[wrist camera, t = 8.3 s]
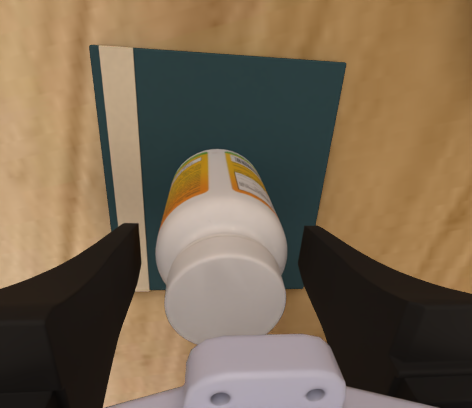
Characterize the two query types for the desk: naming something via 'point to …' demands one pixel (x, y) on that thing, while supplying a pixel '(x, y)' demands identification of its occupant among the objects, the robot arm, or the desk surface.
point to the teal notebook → (212, 133)
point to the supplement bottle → (221, 250)
